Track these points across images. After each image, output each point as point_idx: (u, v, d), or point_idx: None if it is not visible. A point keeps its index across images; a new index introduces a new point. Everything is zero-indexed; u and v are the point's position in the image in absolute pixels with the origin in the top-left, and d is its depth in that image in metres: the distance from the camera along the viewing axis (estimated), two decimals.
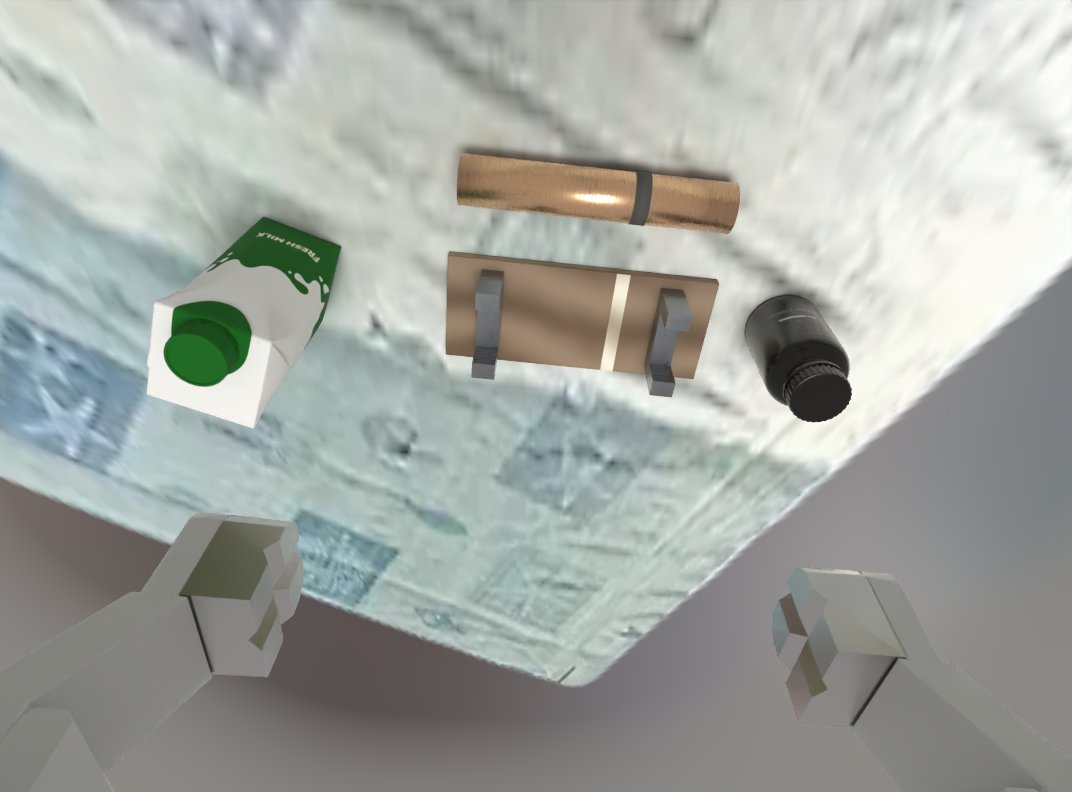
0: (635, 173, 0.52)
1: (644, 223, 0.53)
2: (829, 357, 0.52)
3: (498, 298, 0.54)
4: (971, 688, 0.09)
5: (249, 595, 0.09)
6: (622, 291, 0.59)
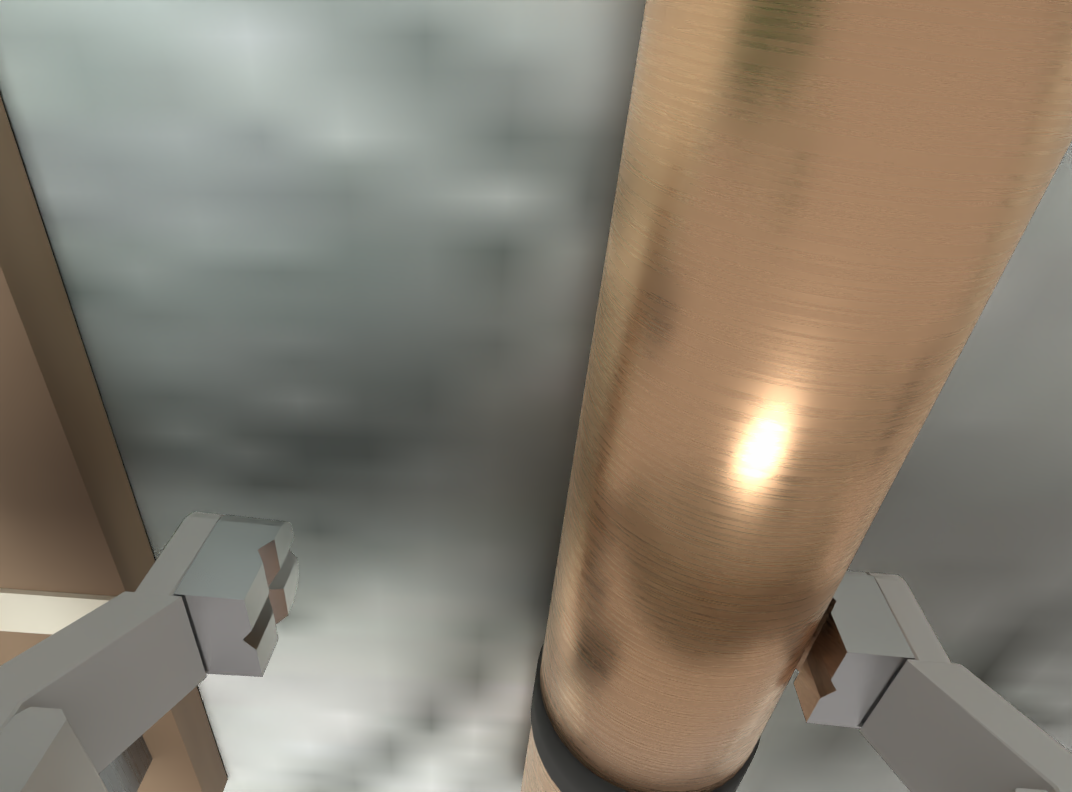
0: None
1: None
2: None
3: None
4: (981, 689, 0.09)
5: (243, 595, 0.09)
6: (48, 615, 0.13)
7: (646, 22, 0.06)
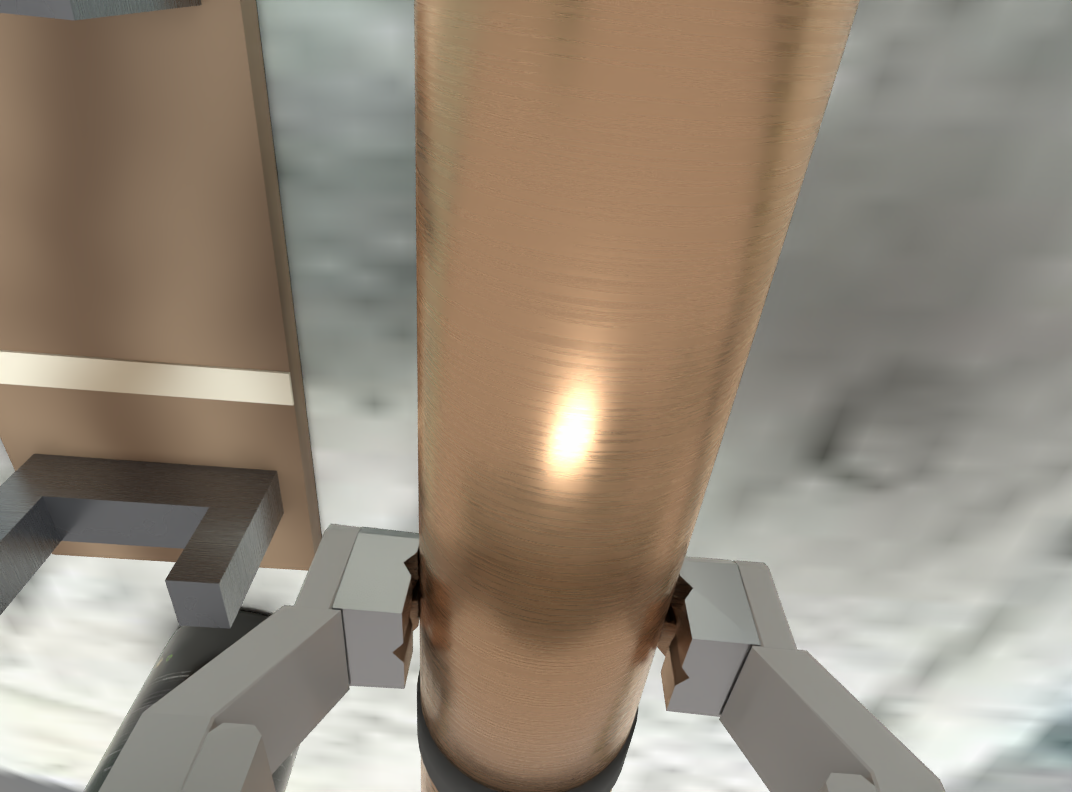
0: None
1: (440, 790, 0.12)
2: None
3: (57, 11, 0.11)
4: (819, 675, 0.09)
5: (399, 608, 0.09)
6: (238, 387, 0.21)
7: None
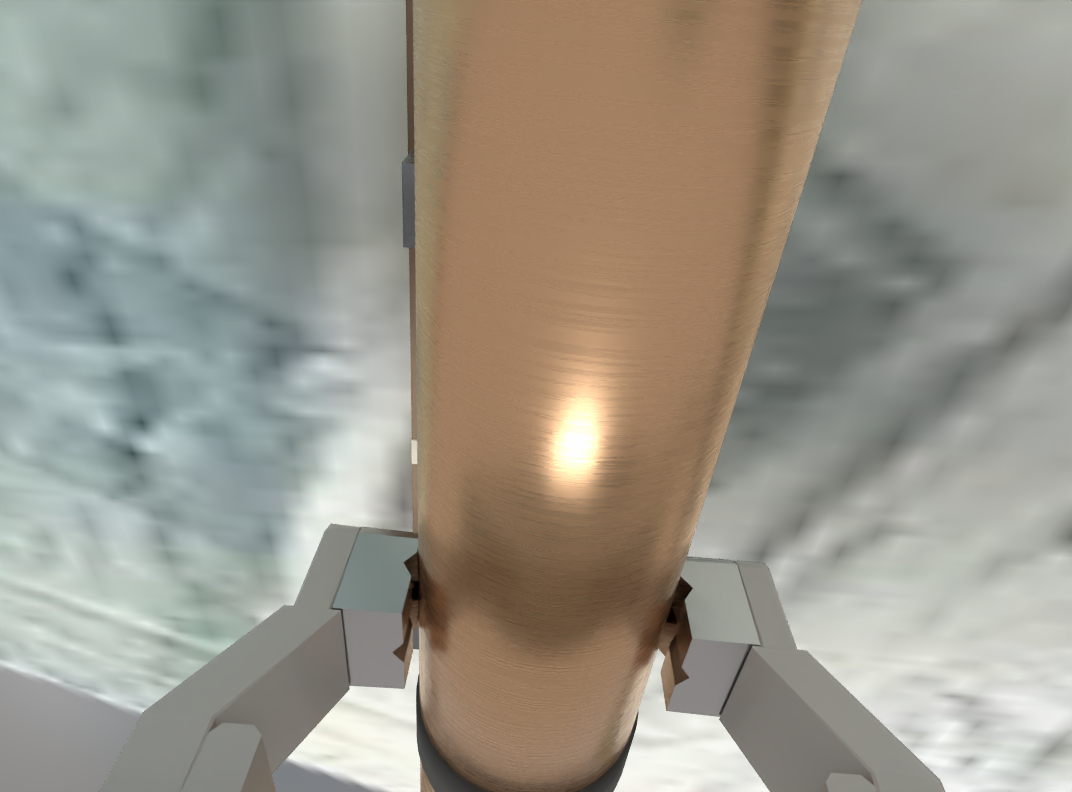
0: None
1: None
2: None
3: None
4: (819, 675, 0.09)
5: (399, 608, 0.09)
6: None
7: None
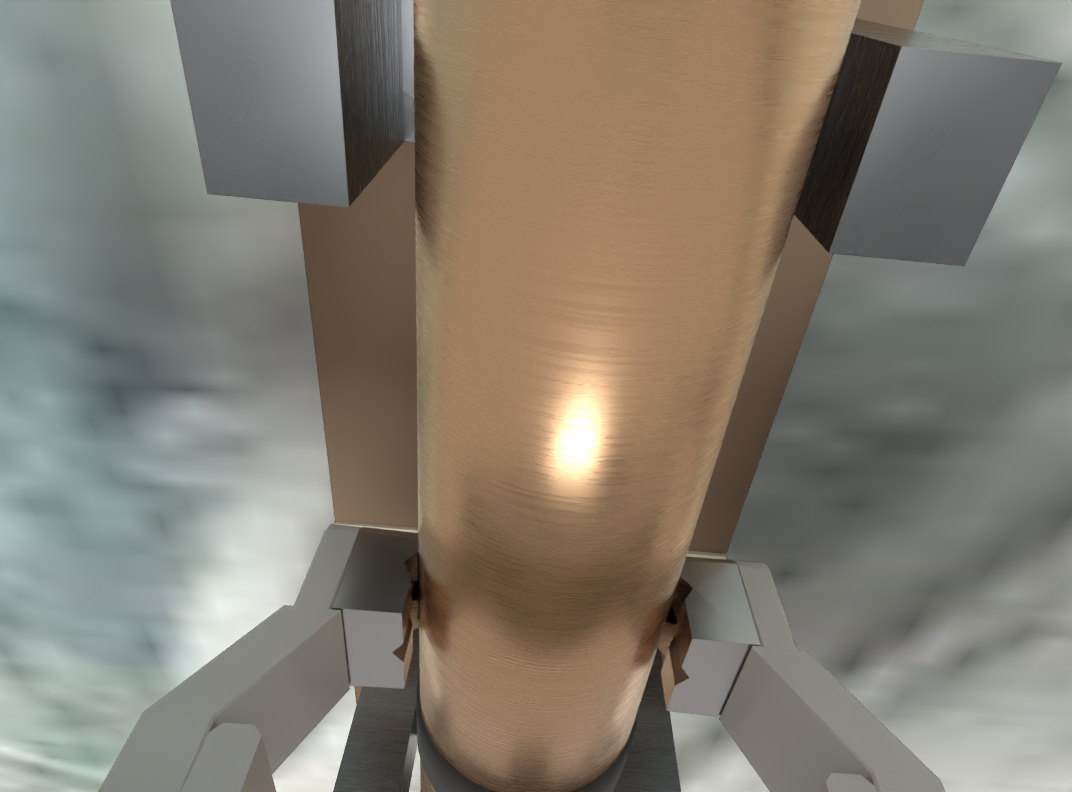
0: None
1: None
2: None
3: (944, 254, 0.07)
4: (819, 675, 0.09)
5: (399, 608, 0.09)
6: None
7: None
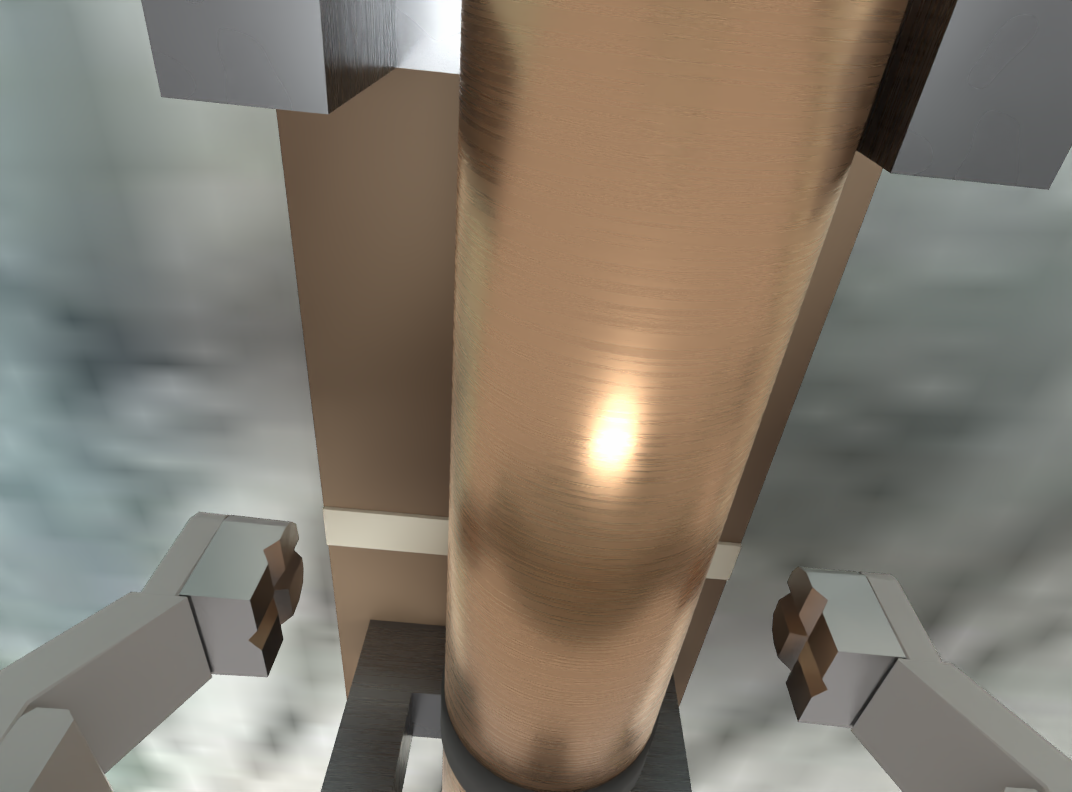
0: None
1: None
2: None
3: (1026, 174, 0.06)
4: (971, 688, 0.09)
5: (249, 595, 0.09)
6: None
7: None
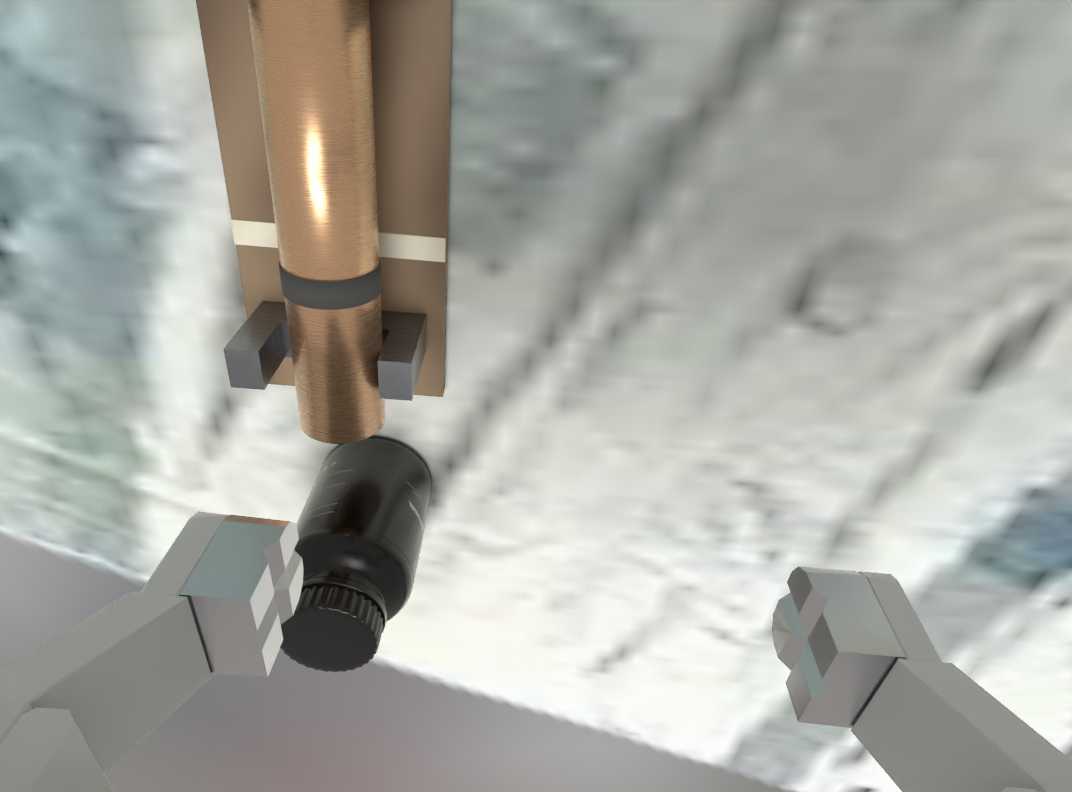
0: (378, 259, 0.28)
1: (297, 303, 0.27)
2: (387, 611, 0.33)
3: None
4: (971, 688, 0.09)
5: (249, 595, 0.09)
6: (410, 249, 0.32)
7: None
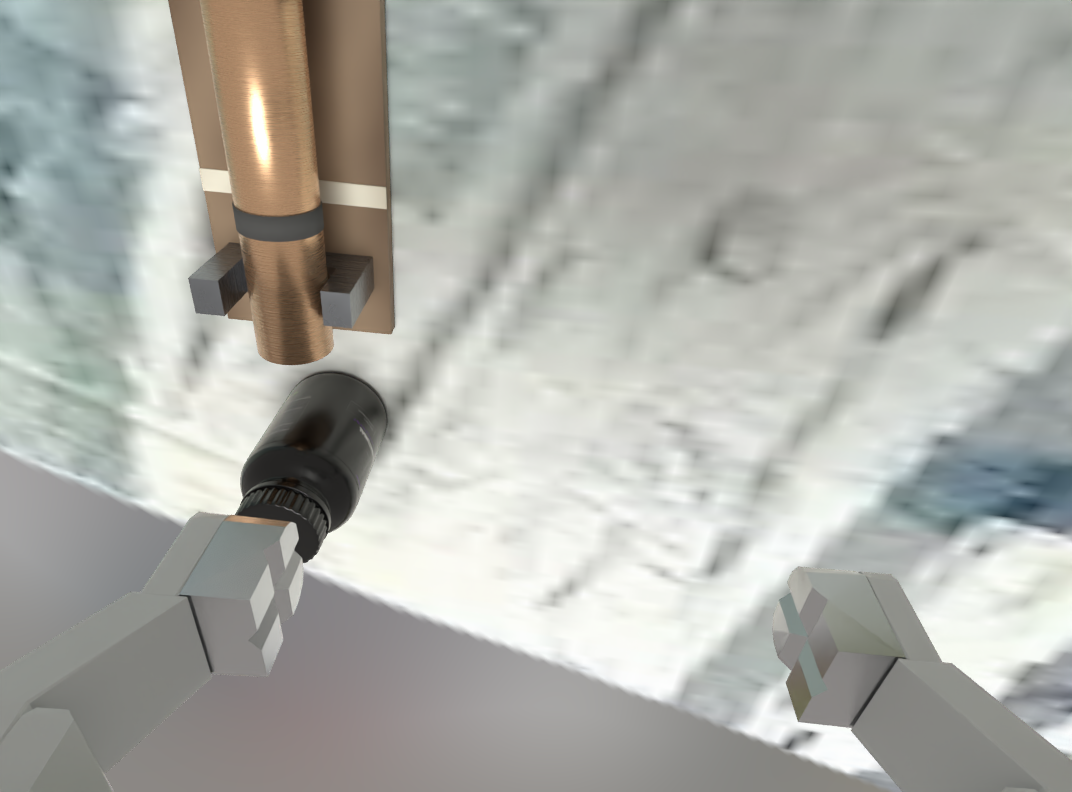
0: (320, 201, 0.33)
1: (246, 236, 0.31)
2: (333, 518, 0.38)
3: None
4: (971, 688, 0.09)
5: (249, 595, 0.09)
6: (355, 197, 0.36)
7: None
